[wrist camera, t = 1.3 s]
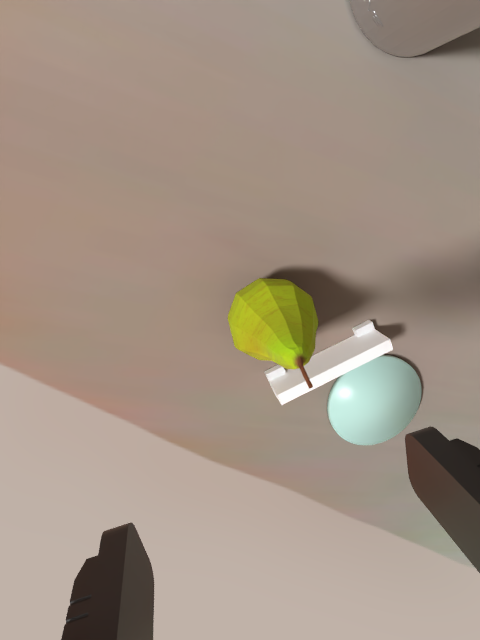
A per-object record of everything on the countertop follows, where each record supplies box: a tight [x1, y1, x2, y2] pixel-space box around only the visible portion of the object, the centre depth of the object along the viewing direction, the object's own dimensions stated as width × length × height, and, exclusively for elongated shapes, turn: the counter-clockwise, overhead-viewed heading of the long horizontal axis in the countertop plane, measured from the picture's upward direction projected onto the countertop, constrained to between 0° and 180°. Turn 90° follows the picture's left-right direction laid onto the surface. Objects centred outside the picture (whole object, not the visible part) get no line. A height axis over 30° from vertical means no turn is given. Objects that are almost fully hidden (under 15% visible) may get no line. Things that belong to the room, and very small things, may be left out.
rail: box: [264, 320, 393, 405], centre depth 33 cm, size 10×2×3 cm, turn 114°
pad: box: [327, 355, 422, 445], centre depth 37 cm, size 9×9×1 cm
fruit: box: [228, 278, 318, 389], centre depth 27 cm, size 6×6×12 cm
